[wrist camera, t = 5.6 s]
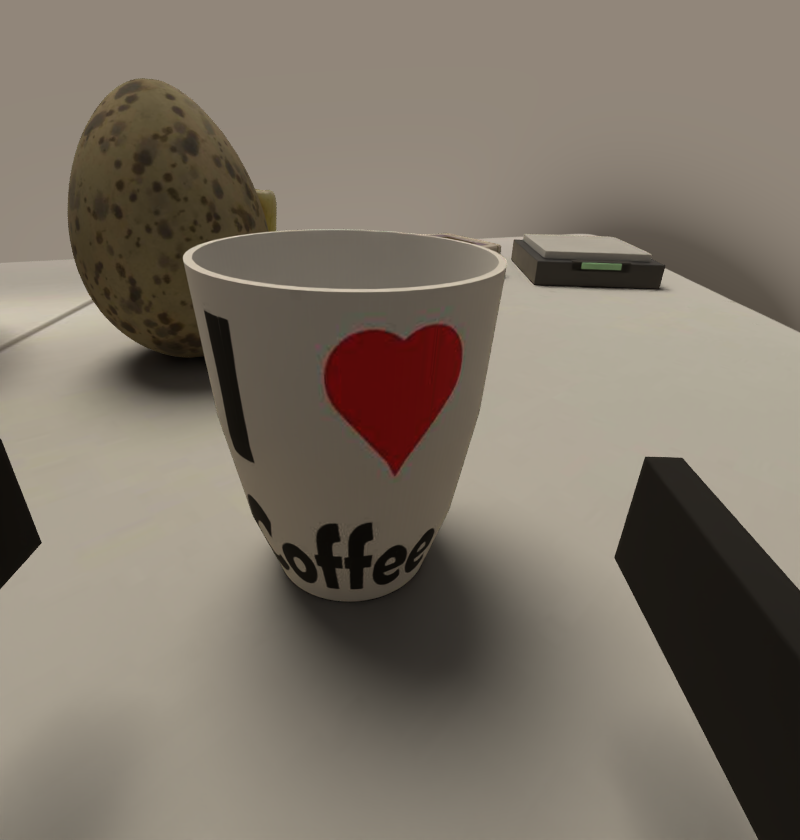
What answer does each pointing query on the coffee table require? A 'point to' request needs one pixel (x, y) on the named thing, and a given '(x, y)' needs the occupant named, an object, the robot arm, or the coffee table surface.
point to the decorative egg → (153, 209)
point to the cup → (347, 390)
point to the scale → (585, 262)
